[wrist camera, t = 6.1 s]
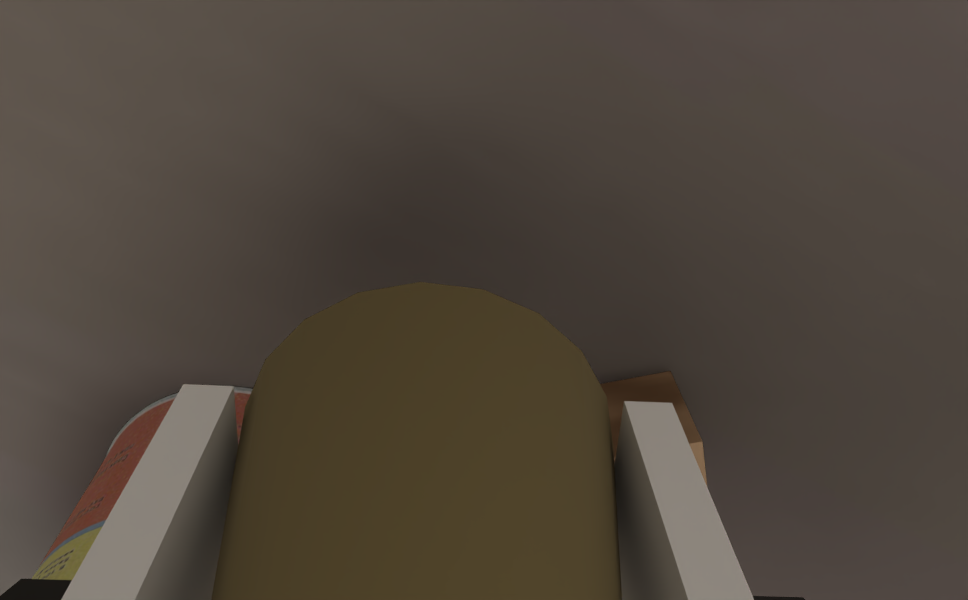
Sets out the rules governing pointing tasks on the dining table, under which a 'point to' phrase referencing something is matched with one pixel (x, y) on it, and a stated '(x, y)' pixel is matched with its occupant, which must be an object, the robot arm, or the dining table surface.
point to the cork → (423, 459)
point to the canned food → (111, 487)
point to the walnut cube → (652, 390)
